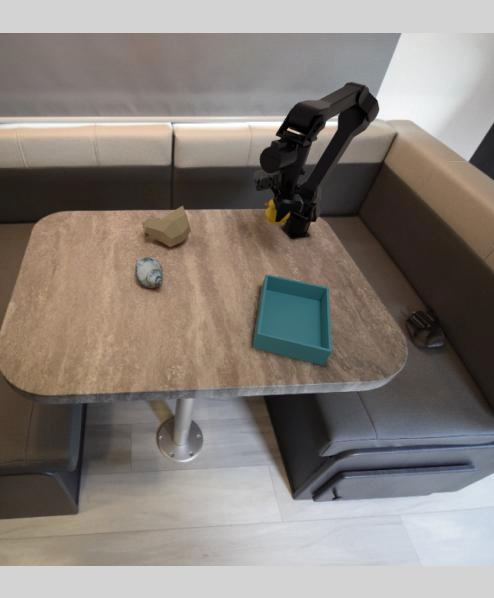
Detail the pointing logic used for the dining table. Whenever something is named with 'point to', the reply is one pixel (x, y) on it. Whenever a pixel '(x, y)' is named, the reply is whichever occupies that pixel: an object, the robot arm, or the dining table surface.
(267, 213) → the duck
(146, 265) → the seashell
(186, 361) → the dining table surface
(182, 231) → the tan rock
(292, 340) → the teal tray
